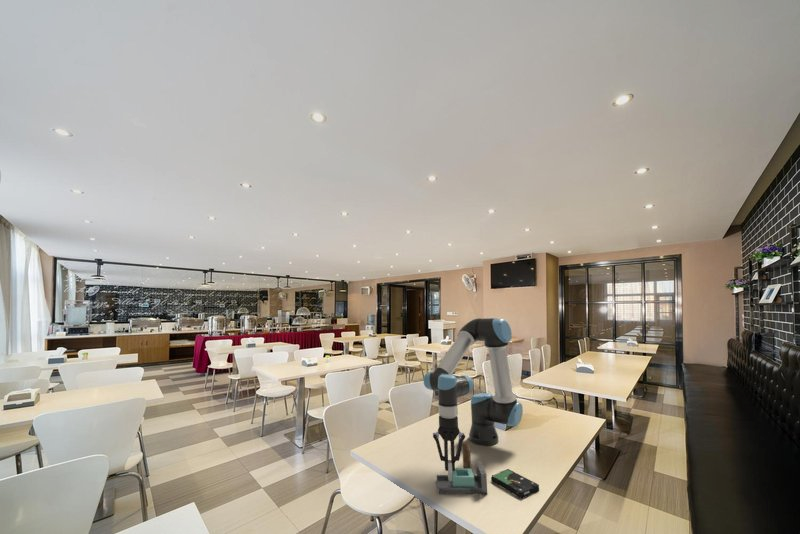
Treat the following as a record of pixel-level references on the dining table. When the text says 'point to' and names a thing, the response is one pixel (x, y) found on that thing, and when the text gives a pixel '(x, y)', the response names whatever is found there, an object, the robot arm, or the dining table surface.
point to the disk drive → (515, 483)
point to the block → (463, 477)
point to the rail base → (480, 487)
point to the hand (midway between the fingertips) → (450, 479)
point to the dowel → (466, 455)
